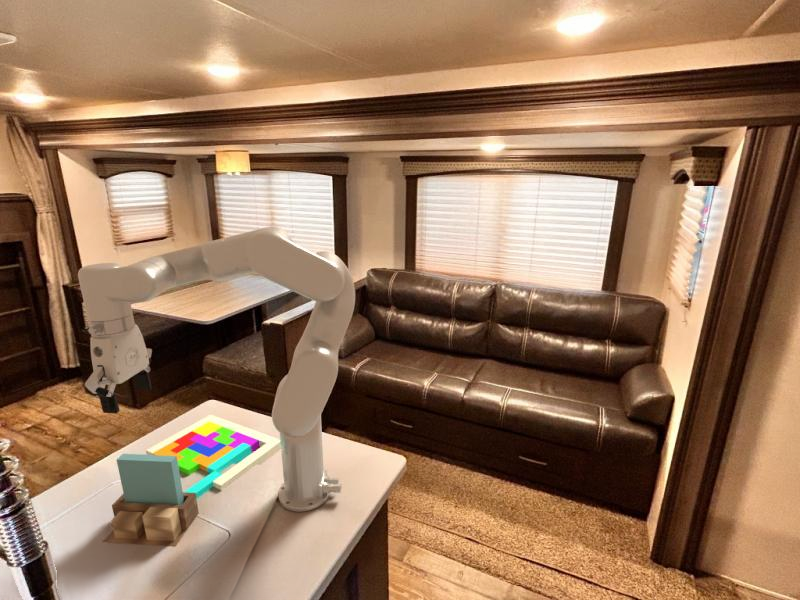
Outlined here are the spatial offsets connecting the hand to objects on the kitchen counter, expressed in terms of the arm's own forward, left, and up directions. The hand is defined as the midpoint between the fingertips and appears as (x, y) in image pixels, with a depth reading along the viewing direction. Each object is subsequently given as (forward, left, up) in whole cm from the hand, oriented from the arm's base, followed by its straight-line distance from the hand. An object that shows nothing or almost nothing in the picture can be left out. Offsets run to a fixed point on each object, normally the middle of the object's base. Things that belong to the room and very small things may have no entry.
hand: (128, 400), depth 89 cm
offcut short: (-1, +8, -28) cm, 29 cm away
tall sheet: (-4, +3, -28) cm, 28 cm away
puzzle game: (-3, -18, -29) cm, 35 cm away
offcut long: (-8, +8, -28) cm, 30 cm away
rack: (-4, +6, -29) cm, 29 cm away
